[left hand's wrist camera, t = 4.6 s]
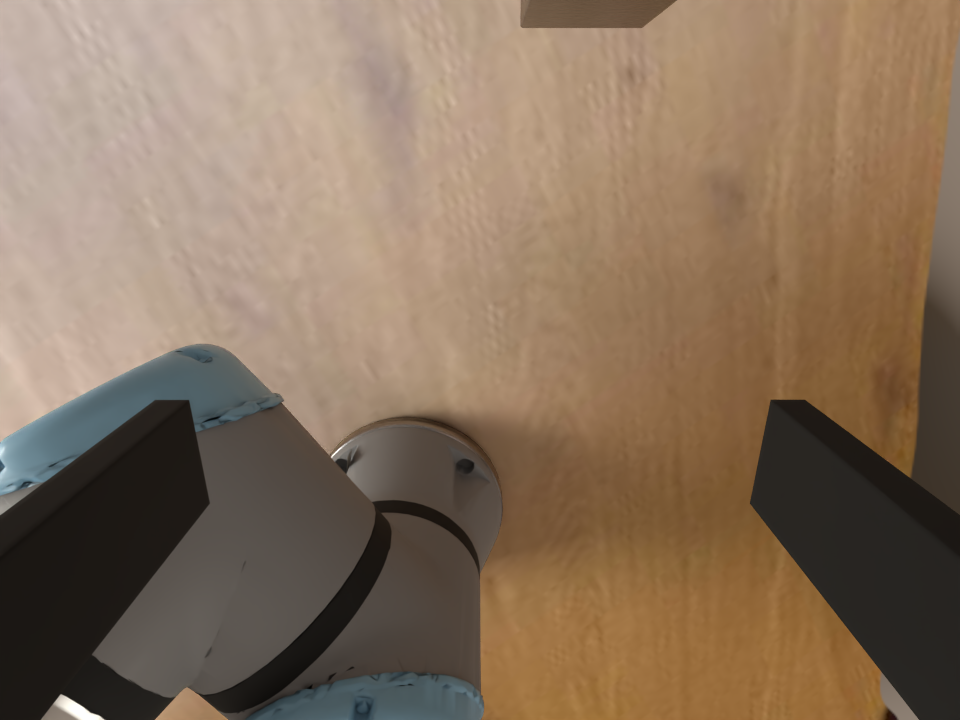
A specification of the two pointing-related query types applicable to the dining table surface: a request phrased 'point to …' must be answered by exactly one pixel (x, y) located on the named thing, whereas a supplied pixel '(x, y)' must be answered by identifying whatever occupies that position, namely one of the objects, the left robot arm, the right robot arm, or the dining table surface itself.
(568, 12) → the bar
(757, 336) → the dining table surface
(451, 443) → the left robot arm
